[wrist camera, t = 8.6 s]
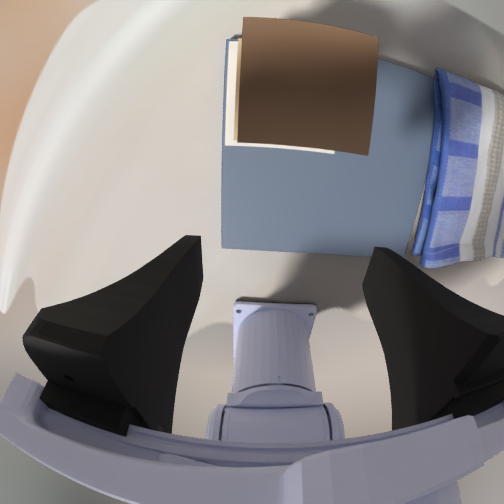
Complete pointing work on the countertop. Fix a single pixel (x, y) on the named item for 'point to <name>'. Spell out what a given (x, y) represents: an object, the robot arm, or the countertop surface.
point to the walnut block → (306, 85)
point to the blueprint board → (330, 177)
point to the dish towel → (463, 175)
